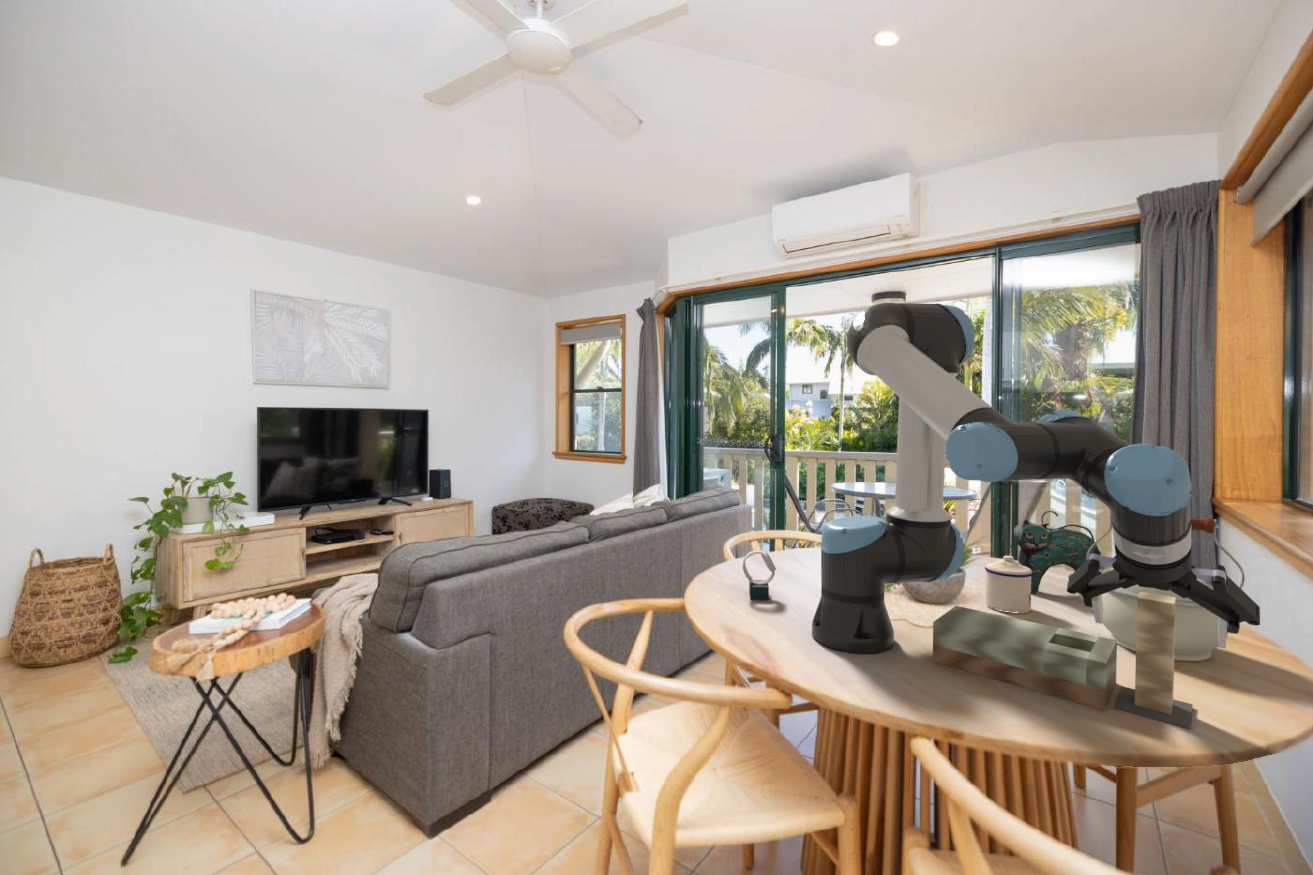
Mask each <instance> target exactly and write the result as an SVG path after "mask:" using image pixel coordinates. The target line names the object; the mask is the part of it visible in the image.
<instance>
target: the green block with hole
mask: <svg viewBox="0 0 1313 875" xmlns="http://www.w3.org/2000/svg"><path fill="white" fill-rule="evenodd" d="M1117 657H1118V644H1117V640H1113V639H1111V638H1108V637H1103V636H1099V635H1094V634H1090V633H1084V632H1080V631H1074V630H1069V629H1067V628H1066V629H1065V628H1061V627H1057V626H1052V625H1047V624H1043V623H1038V622H1034V621H1029V620H1024V619H1020V618H1019V619H1018V618H1015V617H1010V616H1007V615H1005V616H1004V615H1002V614H997V613H992V612H987V611H983V610H977V609H974V608H973V609H972V608H968V607H963V606H958V605H955V606H953V607H952V608H950V609H949V610H948V611H947V612H945V613H943V614H942V615H941V616H939V617H938V618H937V619H935V620H934V621H933V623H932V662H934V663H938V664H940V665H944V666H949V667H951V668H956V669H959V670H962V671H965V672H969V673H973V674H976V675H979V676H983V677H986V678H989V679H993V680H998V681H1000V682H1004V683H1008V684H1011V685H1014V686H1018V687H1022V688H1023V689H1024V688H1025V689H1029V690H1032V691H1036V692H1039V693H1042V694H1046V695H1049V696H1053V697H1057V698H1059V699H1062V700H1063V699H1064V700H1068V701H1071V702H1074V703H1077V704H1080V705H1084V706H1088V707H1091V708H1095V709H1098V710H1101V711H1106V710H1107V707H1108V705H1109V702H1110V700H1111V697H1112V695H1113V692H1114V689H1115V687H1116V684H1117V660H1118V659H1117Z"/></svg>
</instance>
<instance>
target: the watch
mask: <svg viewBox="0 0 1313 875" xmlns="http://www.w3.org/2000/svg"><path fill="white" fill-rule="evenodd" d="M755 554H757V555H758V554H760V555H761V557H762V560H763V562H764V563H765V566H766V568H767V569H768V570H769V571H770V572H771V575H770V576H769V577H768V578H767V579H765V580H763V579H762V580H761V579H759V580H758V579H756V580H755V579H753V576H752V575H751V574H750V573H749V570H748V569H747V566H746V560H747V559H748V558H749V557H750V556H752V555H755ZM742 570H743V573H744V575H745V578H746V579H747V580H748V585H749V586H748V587H749V590H748V592H749V599H750V600H751V601H755V600H756V601H769V600H770V598H769V596H770V592H769V591H770V589H769V588H770V587H769V583H770V582H771V581H772V580H773V579H774V577H775V574H776V573H775V571H777V568H776V565H775V564H774V562H773V559H772V558H771V556H770V554H769V553H768V552H767V551H763V550H758V549H755V550H751V551H749V552H748V553H747V554H745V556H744V557H743V560H742Z"/></svg>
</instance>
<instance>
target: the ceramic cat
mask: <svg viewBox="0 0 1313 875" xmlns="http://www.w3.org/2000/svg"><path fill="white" fill-rule="evenodd" d="M1048 513H1052V514H1054V515H1055V516H1056V517H1059V513H1057V512H1056V511H1054V510H1046V511H1045V512H1043V513H1042V515H1041V524H1037V523H1033V522H1029V521H1028V519H1025V520H1024V521H1023V522H1020V523H1019V524H1017V525H1015V527H1014V529H1013V534H1012V536H1013V540H1014V542H1015V543H1016V544H1017V545H1018V546H1019V548H1020V550H1019V555H1018V561H1017V562H1018V563H1020V564H1021V565H1023V566H1025V567H1028V568H1030V569H1031V571H1032V573H1033V575H1032V576H1031V594H1039V591H1040V590H1039V589H1040V585H1041V581H1042V579H1043V577H1044V575H1045V574H1046V572H1047V571H1048V570H1049V569H1050V568H1052V567H1055V566H1061V565H1065V566H1067V567H1070V568H1071V569H1072V570H1073V571H1074V572H1075V571H1076V570H1077V569H1078V568H1079V567H1080V566H1081V565H1082V564H1083V563H1084V562H1086V555H1087V551H1088V550H1089V548H1090V547H1091V546H1092V545H1093V544H1094V543H1095V542H1096V541H1095V538H1094V535H1093V533H1092V531H1091V530H1090V528H1088V527H1085V526H1083V525H1079V524H1066V525H1063V526H1059V527H1055V528H1049V527H1048V526H1049V525H1050V523H1044V522H1043V521H1044V516H1045V515H1046V514H1048ZM1068 527H1075V528H1076V527H1077V528H1081V529H1084V530H1086V532H1088V533H1089V535H1090V536H1091V537H1090V536H1089V535H1088V534H1085V533H1084V532H1081V531H1077V530H1074V529H1069V528H1068ZM1092 549H1096V550H1099V551H1100V548H1099V547H1098V545H1097V544H1095V545H1094V546H1093V548H1092ZM1092 549H1091V550H1092ZM1091 550H1090V551H1091ZM1089 557H1090V553H1089ZM1101 574H1103V572H1098V574H1097V576H1098V575H1101Z"/></svg>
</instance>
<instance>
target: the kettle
mask: <svg viewBox="0 0 1313 875" xmlns="http://www.w3.org/2000/svg"><path fill="white" fill-rule="evenodd" d="M1108 519H1110V520H1109V521H1110V522H1109V529H1108V531H1107V532H1106V533H1104V534H1103V535H1102V536H1101V537H1099V538H1098V539H1097V540H1096V541H1094V542H1095V543H1094V544H1093V545H1092V546H1091V547H1090V548H1089V550H1088V551H1087V555H1086V561H1087V560H1088V559H1089V553H1090V550H1091V549H1092V548H1093V546H1094V545H1095V544H1096V545H1097V544H1098V543H1099V542H1100V541H1102V540H1103V539H1104V538H1105V537H1106V536H1107V535H1109V534H1110V532H1111V531H1113V529H1112V521H1111V514H1110V513H1109V514H1108ZM1219 528H1220V525H1219V524H1218V523H1217V519H1214V518H1212V517H1206V518H1204V519H1201V518H1195V517H1194V518H1193V517H1191V531H1203V532H1205V533H1206V534H1213V539H1214V543H1215V544H1216V546H1217V547H1218V548H1219V549H1220V550H1221V551H1223V553H1224V554H1225V555H1226V556H1227V557H1228V558H1229V559H1230V560H1231V561H1232V562H1234V564H1235V565H1236V566H1237V568H1238V569H1239V571H1240V573H1241V581H1240V583H1239V586H1238V587H1239V588H1240V589H1242V590H1243V587H1244V584H1245V578H1246V577H1245V572H1244V569H1243V568H1242V566H1241V564H1240V563H1239V561H1237V560H1236V559H1235V558H1234V556H1233V555H1232V554H1231V553H1230V552H1229V551H1228V550H1226V549H1225V547H1223V546H1222V544H1221V543H1219V541H1218V538H1217V529H1219ZM1110 570H1113V568H1111V569H1110ZM1072 574H1073V573H1068V574H1066V576H1067V577H1068V579H1069V576H1071V575H1072ZM1197 580H1198V581H1199V582H1201V583H1203V584H1204V585H1206V586H1207V583H1205V582H1204V581H1203V580H1201V579H1197ZM1211 589H1212V590H1213V588H1211ZM1140 592H1146V593H1152V594H1158V595H1165V596H1171V597H1176V614H1175V652H1174V662H1175V661H1176V662H1187V663H1188V662H1189V663H1190V662H1191V663H1192V662H1201V661H1202V662H1203V661H1206V660H1208V659H1210V658H1211V656H1212V651H1214V650H1215V649H1216V648H1219V647H1218V628H1219V617H1218V616H1216V615H1215V614H1213V613H1212V612H1210V611H1208V610H1207V609H1205V608H1204V607H1202V606H1200V605H1199V604H1197V603H1195V602H1194V601H1192V600H1191V599H1189V598H1182V597H1180V596H1179V595H1177V594H1175V593H1174V592H1172V591H1171V590H1169V591H1165V590H1160V589H1156V588H1146V587H1139V585H1135V586H1132V587H1129V588H1126V589H1123V588H1118V589H1115V590H1113V591H1110V592H1107V593H1104V594H1102V595H1101V596H1102V602H1103V608H1104V610H1103V617H1102V625H1103V626H1104V627H1105V628H1106V630H1108V631H1109V633H1108V636H1109V637H1110V638H1109V639H1113V640H1117V645H1119V646H1121V647H1123V648H1125V649H1126V650H1130V651H1132V652H1135V653H1136V631H1137V597H1138V595H1139V593H1140ZM1077 594H1078V595H1079V597H1080V599H1081V600H1082V601H1083V602H1084V600H1083V597H1082V595H1081V594H1079V593H1077ZM1089 608H1090V609H1091V610H1092V611H1093V608H1092V607H1089ZM1228 635H1229V632H1227V634H1226V639H1227V637H1228Z"/></svg>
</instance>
